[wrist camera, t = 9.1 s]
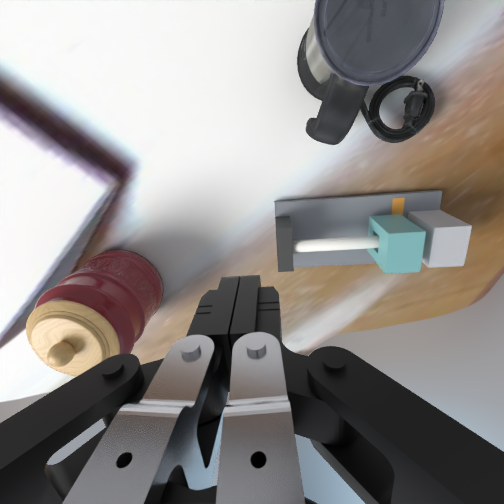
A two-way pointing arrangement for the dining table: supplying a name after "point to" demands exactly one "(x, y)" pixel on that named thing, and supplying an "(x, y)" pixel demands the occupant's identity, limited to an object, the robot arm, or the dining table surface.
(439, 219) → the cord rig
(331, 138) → the milk frother
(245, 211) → the dining table surface
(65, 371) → the canister
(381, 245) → the sleeve
